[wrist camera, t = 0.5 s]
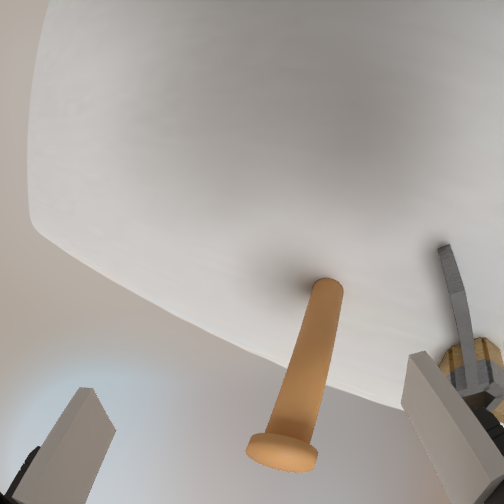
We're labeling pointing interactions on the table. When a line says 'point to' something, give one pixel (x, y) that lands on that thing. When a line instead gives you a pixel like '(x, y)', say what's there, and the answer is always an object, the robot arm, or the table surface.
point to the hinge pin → (302, 387)
